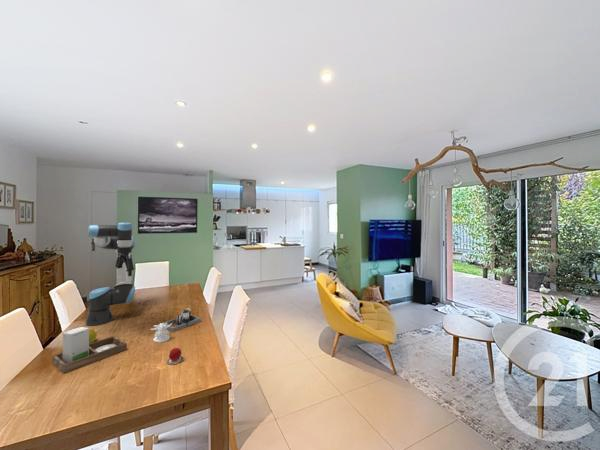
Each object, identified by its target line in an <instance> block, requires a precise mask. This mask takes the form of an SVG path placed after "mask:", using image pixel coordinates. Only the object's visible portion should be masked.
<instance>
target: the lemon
mask: <svg viewBox="0 0 600 450" xmlns="http://www.w3.org/2000/svg"><path fill="white" fill-rule="evenodd" d="M96 339H97V331H95V330H94V329H90V328H89V344H90V343H93V342H96V341H95V340H96Z"/></svg>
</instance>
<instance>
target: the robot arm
mask: <svg viewBox="0 0 600 450" xmlns="http://www.w3.org/2000/svg"><path fill="white" fill-rule="evenodd" d="M88 237H90V238H93V243H94V245H95V246H96V247H97V248H101V249H102V250H103V249H104V250H114V253H116V261H115V268H116V284H115V285H114V286H113V288H111V287H110V286H107V287H106V286H105V287H100V288H96V289H93V290H91V291H90V292H89V296H88V314H87V316H86V319H85V325H86V326H91V327H93V326H100V325H104V324H105V325H106V324H107V323H110V322H112V321H113V319H114V318H113V317H114V316H113V313H112V310H111V306H115V305H123V304H129V303H132V302H134V298H135V291H136V286H134V285H133V283H132V281H133V271H134V270H135V267H134V263H133V262H134V261H133V257H132V256H133V255H132V254H131V253H132V252H133V250H134V249H135V240H134V236H133V224H132V222H118V224H110V225H107V224H91V225H89V226H88Z"/></svg>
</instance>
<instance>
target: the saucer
mask: <svg viewBox="0 0 600 450" xmlns="http://www.w3.org/2000/svg"><path fill="white" fill-rule="evenodd" d="M115 346H116V345H114V344H110V345H104V346H101V347H99V348H97V349H96V351H97V352H101V351H104V350H106V349H109V348H112V347H115Z"/></svg>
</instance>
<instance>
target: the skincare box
mask: <svg viewBox="0 0 600 450" xmlns="http://www.w3.org/2000/svg"><path fill="white" fill-rule="evenodd" d="M89 329H90V328H89V327H83V326H80V327H77V328H73V329H70V330H67V331H63V332H62V352H63V358H62V361H63V362H64V363H65V364H67V363H70V362H73V361H76V360H78V359H81V358H84V357H87V356H89Z"/></svg>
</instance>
